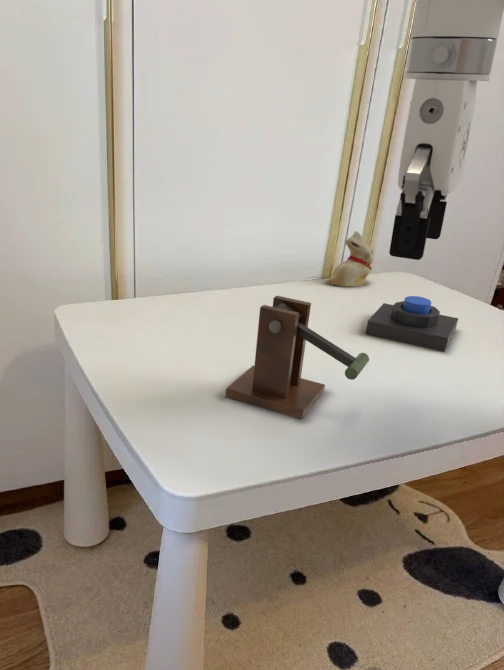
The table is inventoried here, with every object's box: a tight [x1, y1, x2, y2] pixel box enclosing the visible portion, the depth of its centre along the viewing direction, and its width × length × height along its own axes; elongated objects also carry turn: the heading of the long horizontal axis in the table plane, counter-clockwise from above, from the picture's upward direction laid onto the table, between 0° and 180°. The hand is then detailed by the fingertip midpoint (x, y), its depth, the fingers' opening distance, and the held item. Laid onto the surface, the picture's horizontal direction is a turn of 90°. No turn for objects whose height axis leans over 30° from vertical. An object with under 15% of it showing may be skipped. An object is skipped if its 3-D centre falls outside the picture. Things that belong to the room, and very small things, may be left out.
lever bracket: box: [225, 295, 326, 420], centre depth 76 cm, size 10×8×12 cm
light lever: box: [276, 303, 370, 381], centre depth 73 cm, size 12×5×2 cm, turn 61°
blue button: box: [403, 295, 432, 314], centre depth 98 cm, size 4×4×2 cm
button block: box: [365, 300, 459, 353], centre depth 99 cm, size 12×10×4 cm
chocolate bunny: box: [329, 230, 375, 288], centre depth 119 cm, size 6×8×10 cm
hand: (415, 246), depth 66 cm, fingers open, 9 cm apart
